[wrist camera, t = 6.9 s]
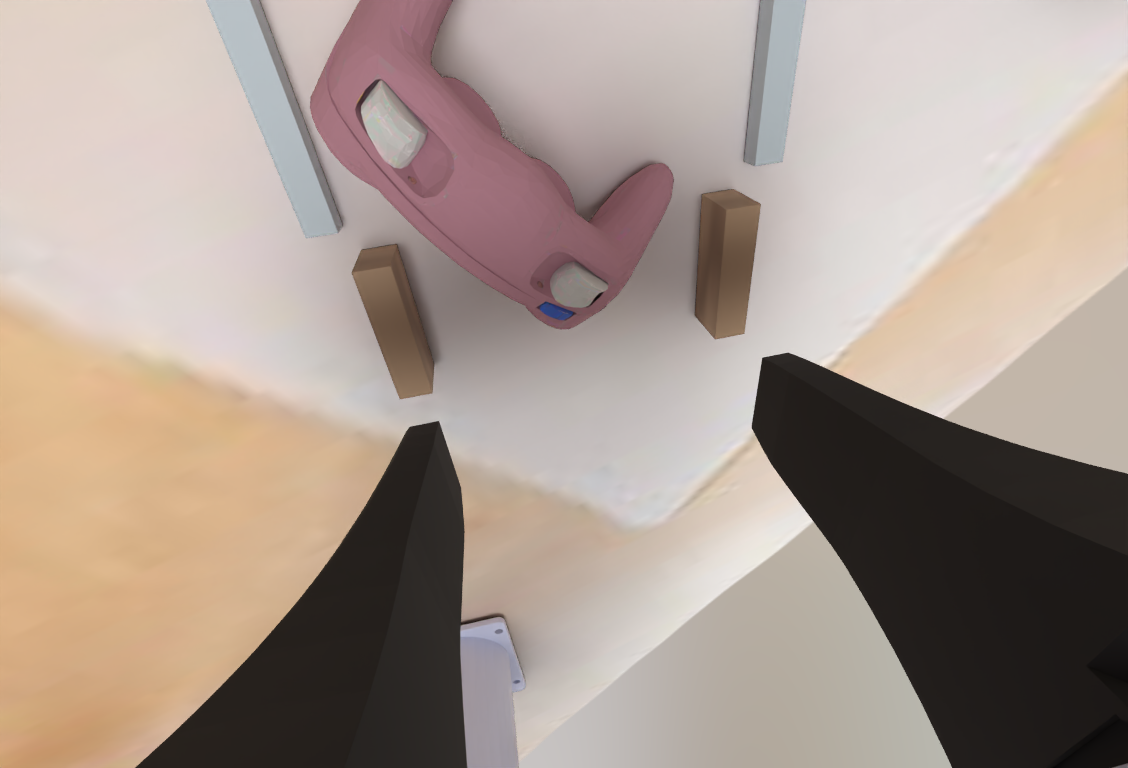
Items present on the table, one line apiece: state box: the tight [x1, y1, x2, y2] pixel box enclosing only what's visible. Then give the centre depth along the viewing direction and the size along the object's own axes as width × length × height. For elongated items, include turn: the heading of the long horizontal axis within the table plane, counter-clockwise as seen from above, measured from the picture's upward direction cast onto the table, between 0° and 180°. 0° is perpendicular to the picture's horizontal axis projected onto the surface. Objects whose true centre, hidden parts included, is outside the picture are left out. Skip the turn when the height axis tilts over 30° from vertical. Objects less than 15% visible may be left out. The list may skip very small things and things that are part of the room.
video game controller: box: [310, 0, 674, 329], centre depth 14 cm, size 10×5×7 cm, turn 46°
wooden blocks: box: [352, 189, 761, 399], centre depth 18 cm, size 5×13×2 cm, turn 96°
